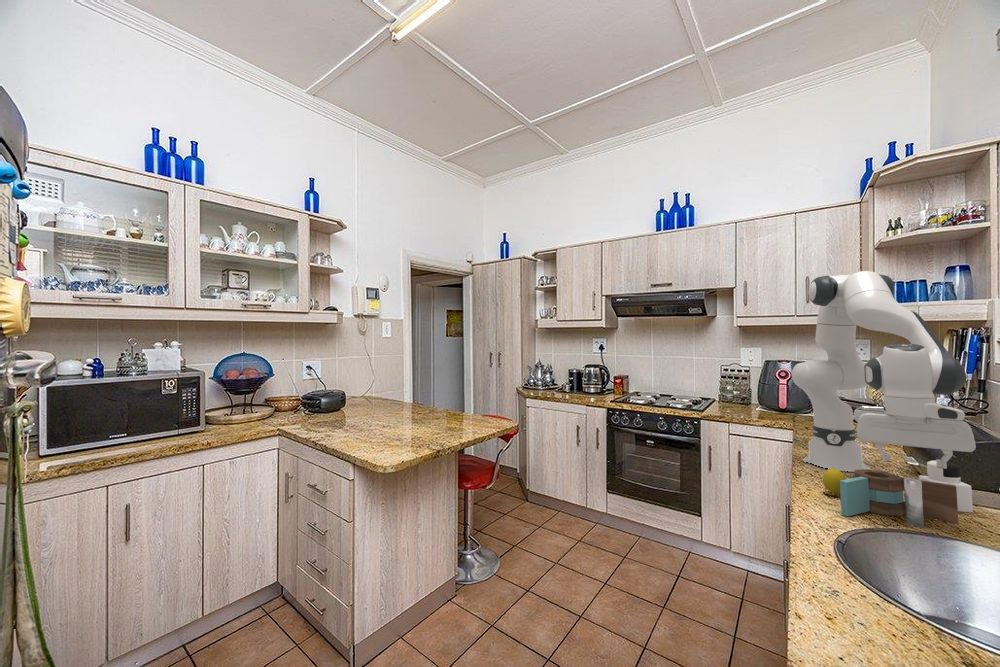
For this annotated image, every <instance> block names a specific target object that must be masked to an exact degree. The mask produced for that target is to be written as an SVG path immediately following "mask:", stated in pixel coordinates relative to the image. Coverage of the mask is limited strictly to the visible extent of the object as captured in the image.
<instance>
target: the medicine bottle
mask: <svg viewBox="0 0 1000 667" xmlns="http://www.w3.org/2000/svg"><path fill="white" fill-rule="evenodd" d="M946 463H947V469H944V468H937V466H936V464H937V462H936V460H930V461H927V462H926V471H927V472H926V473H927V475H923V474H922V475H918V480H923V481H929V482H936V483H943V484H950V485H955V486H956V489H957V506H958V513H959V512H961V513H970V514H971V513H973V512H974V509H973V508H974V507H973V491H972V485H970V484H967V483H966V482H962V481H961V478H962V477H961V467H960V466H959V465H958V464H956V463H954V462H949V461H947V462H946Z"/></svg>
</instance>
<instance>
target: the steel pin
mask: <svg viewBox="0 0 1000 667" xmlns="http://www.w3.org/2000/svg"><path fill="white" fill-rule="evenodd" d="M903 478H904V489H905V492H904V501H905V508H906V514H905V522H906V524H907V525H908V524H909V525H908V526H910V525H913V526H912V527H914V526H917V527H916V528H919V527H923V528H925V523H924V521H925V520H924V519H925V518H924V517H923V500H922V482H921V481H920V480H919V479H917V478H911V477H903Z"/></svg>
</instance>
